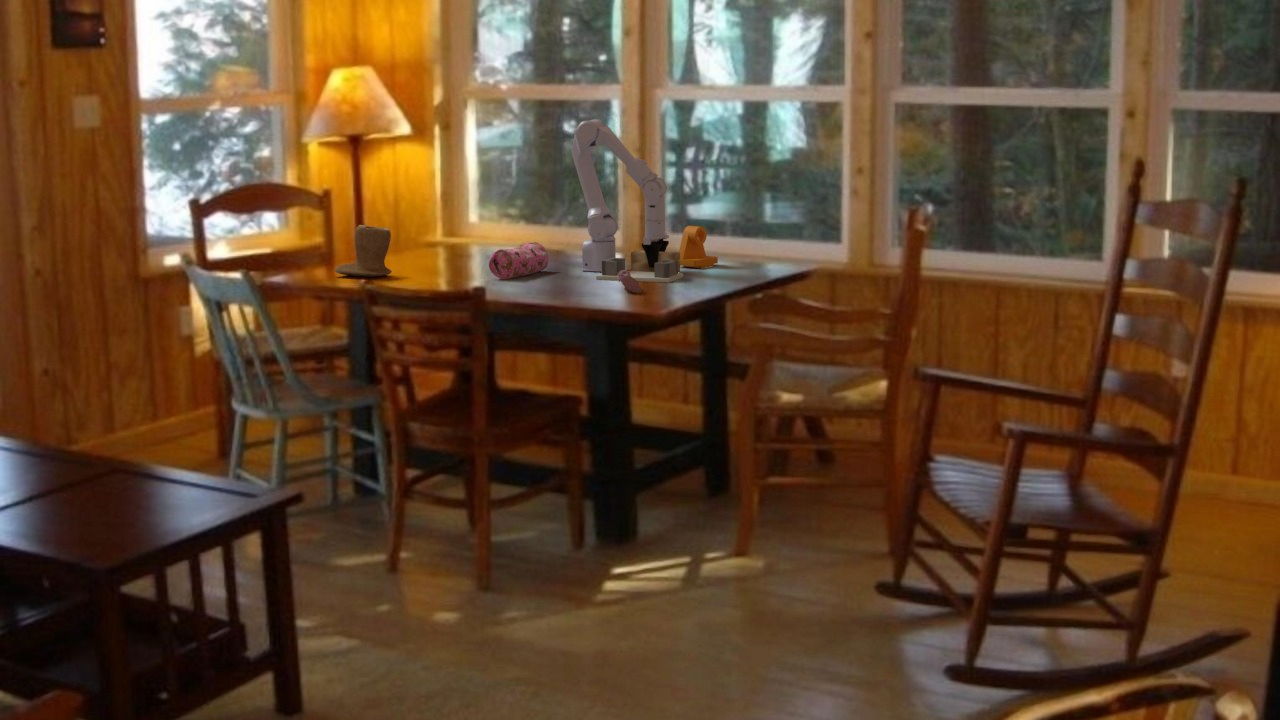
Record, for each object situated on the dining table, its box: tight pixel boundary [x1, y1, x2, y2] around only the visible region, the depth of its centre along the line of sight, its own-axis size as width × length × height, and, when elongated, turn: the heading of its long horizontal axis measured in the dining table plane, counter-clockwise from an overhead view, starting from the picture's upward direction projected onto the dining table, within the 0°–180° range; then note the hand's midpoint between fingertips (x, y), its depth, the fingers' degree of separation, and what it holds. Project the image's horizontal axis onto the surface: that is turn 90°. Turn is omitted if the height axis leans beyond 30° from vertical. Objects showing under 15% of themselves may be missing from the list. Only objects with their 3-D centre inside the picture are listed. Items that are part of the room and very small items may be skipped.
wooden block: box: [630, 250, 681, 273], centre depth 505 cm, size 14×4×6 cm, turn 69°
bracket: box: [678, 225, 719, 269], centre depth 515 cm, size 11×7×12 cm, turn 138°
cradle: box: [595, 257, 684, 283], centre depth 493 cm, size 22×12×5 cm, turn 69°
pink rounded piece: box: [617, 269, 643, 294], centre depth 469 cm, size 10×5×7 cm, turn 5°
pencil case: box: [488, 241, 549, 280], centre depth 501 cm, size 21×9×9 cm, turn 154°
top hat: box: [334, 224, 392, 278], centre depth 503 cm, size 15×12×15 cm
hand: (655, 266), depth 505 cm, fingers open, 4 cm apart
